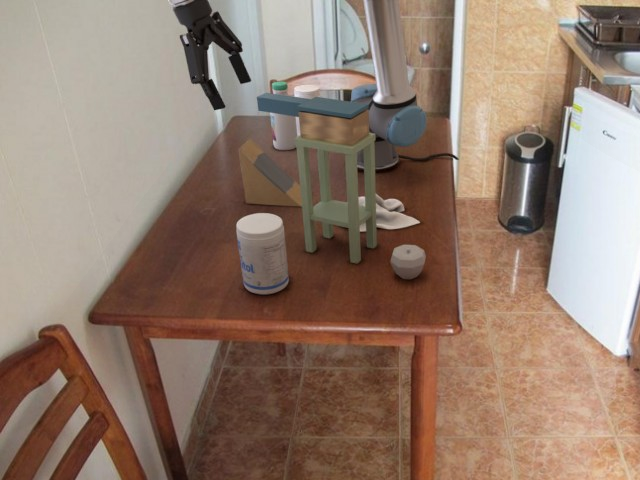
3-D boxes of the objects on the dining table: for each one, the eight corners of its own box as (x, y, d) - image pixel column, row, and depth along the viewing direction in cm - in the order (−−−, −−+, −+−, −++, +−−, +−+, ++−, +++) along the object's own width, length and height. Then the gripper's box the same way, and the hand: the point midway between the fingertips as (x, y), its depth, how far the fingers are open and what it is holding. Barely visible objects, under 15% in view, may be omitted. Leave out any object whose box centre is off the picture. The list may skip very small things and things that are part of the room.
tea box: (300, 137, 139) (298, 111, 137) (319, 126, 145) (317, 101, 142) (352, 146, 135) (350, 119, 132) (369, 134, 141) (368, 109, 138)
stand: (304, 251, 154) (294, 138, 139) (327, 233, 161) (319, 124, 146) (357, 264, 148) (352, 148, 134) (378, 245, 156) (375, 133, 141)
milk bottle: (302, 143, 214) (296, 80, 203) (291, 152, 208) (285, 87, 197) (280, 141, 216) (274, 78, 205) (269, 149, 210) (262, 85, 199)
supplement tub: (235, 285, 141) (224, 223, 133) (269, 268, 147) (261, 208, 139) (264, 301, 136) (256, 237, 128) (299, 283, 142) (292, 221, 134)
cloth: (327, 231, 162) (326, 208, 159) (338, 200, 177) (337, 178, 174) (419, 234, 161) (419, 210, 157) (421, 201, 176) (421, 180, 173)
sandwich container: (301, 207, 174) (296, 152, 166) (245, 203, 176) (237, 149, 168) (310, 193, 181) (305, 140, 173) (256, 190, 183) (249, 137, 175)
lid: (252, 113, 142) (250, 99, 140) (273, 103, 148) (271, 90, 146) (351, 129, 133) (350, 114, 131) (369, 118, 139) (368, 104, 137)
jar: (297, 127, 227) (293, 83, 219) (325, 127, 227) (322, 83, 219) (294, 139, 218) (290, 93, 209) (323, 138, 218) (320, 92, 210)
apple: (401, 262, 149) (401, 236, 145) (432, 271, 146) (433, 245, 142) (383, 278, 143) (382, 252, 140) (415, 288, 140) (415, 261, 136)
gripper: (201, -15, 148) (243, 75, 161) (142, 25, 130) (194, 123, 143) (229, -24, 145) (269, 69, 158) (172, 17, 128) (222, 117, 140)
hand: (233, 95), depth 150 cm, fingers open, 13 cm apart
